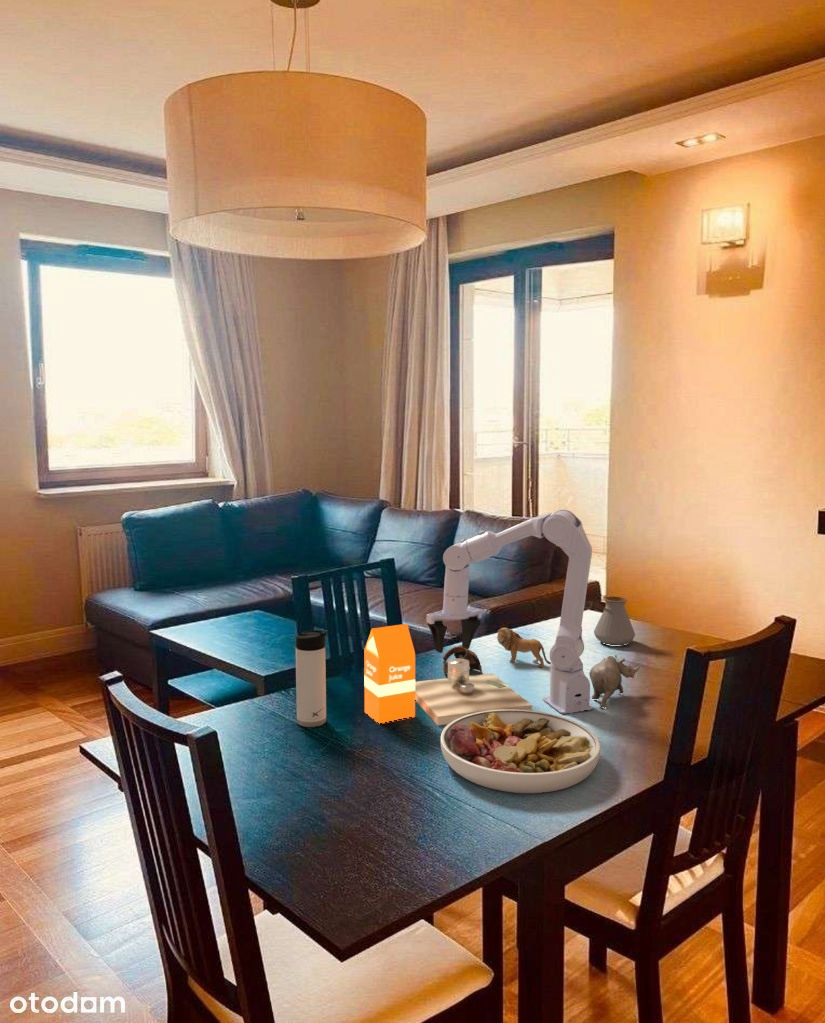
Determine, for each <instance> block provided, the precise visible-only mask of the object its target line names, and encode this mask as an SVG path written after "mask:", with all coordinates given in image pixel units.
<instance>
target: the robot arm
mask: <svg viewBox="0 0 825 1023" xmlns="http://www.w3.org/2000/svg"><path fill="white" fill-rule="evenodd" d="M552 513H553V512H549V513H548V512H547V513H544V514H541V515H538V516H535V517H531V518H530V519H527V520H525V521H523V522H520V523H518V524H515V525H514V526H511V527H509V528H507V529H504V530H502V531H500V532H497V533H496V532H494V531H492V530H487V531H485V529H484V530H480V531H478V532H477V534H478V535H475V536H473V537H470V538H468V539H466V538H462V539H461V540H459V541H460V542H457V543H455V544H453V545H451V546H449V547H448V548H446V550H445V551H444V553H443V556H442V561H443V564H444V566H445V573H444V582H443V585H444V586H443V602H442V603H443V604H442V610H439V611H438V610H437V611H435V612H431V613H428V614H427V613H426V620H425V621H426V623H427V626H428V629H429V631H430V632H431V636H432V639H433V643H434V649H435V652H437V653H439V654H442V653H443V651H444V644H445V637H446V632H447V630H448V627H447V626H445V625H444V622H452V621H453V622H454V621H460V622H461V630H462V633H461V634H462V635H461V645H462V647H464V648H466V649H468V650H470V648H471V643H472V642H473V641H472V640H473V638H474V636H475V633H476V632H477V631H478V629H479V627H480V626H481V620H480V619H482V617H483V615H482V614H483V610H482V609H479V608H477V607H476V608H468V603H469V602H468V601H469V600H468V599H469V586H470V585H469V583H470V565H471V564H476V563H479V562H481V561H483V560H485V559H486V560H487V559H489V558H491V557H493V556H496V555H498V554H500V552H501V549H502V546H506V545H508V544H511V543H514V542H515V543H516V542H517V541H520V540H523V539H525V538H528V537H532V536H533V537H536V538H538V539H542V538H544V537H545V539H547V540H548V541H549V542H550V543H552V544H554V545H555V546H557V547H559V548H560V549H561V550H562V551H563V552H564V553H565V554H566V556H567V557H568V562H567V570H566V576H565V577H566V578H565V585H564V591H563V592H564V593H563V598H562V607H561V613H560V620H559V621H560V622H559V627H558V630H557V633H556V638H555V642H554V644H553V645H552V647H551V648H550V650H549V659H550V662H551V664H550V674H549V675H550V678H549V680H550V682H549V696H544V697H542V700H543V701H544V702H546V704H548V705H549V706H550V707H552V708H553V709H554V710H556V711H557V712H559V713H560V714H570V713H580V712H585V711H584V710H588V711H591V710H590V709H593V710H594V708H593V706H591V705H590V701H591V700H590V699H591V698H590V696H591V682H590V680H589V678H588V677H587V676H586V675H585V672H584V664H583V662H582V659H581V658H580V657H581V656H582V655H583V653H584V651H585V644H584V640H583V627H582V625H583V624H582V623H583V617H584V611H585V610H584V609H585V606H586V603H585V602H586V597H587V590H588V582H589V574H590V569H591V562H592V556H593V548H592V545H591V543H590V540H589V539H588V536H587V534H586V532H585V529H584V527H583V523H582V520H580V519H579V517H578V516H576V514H574V513H573V512H572V511H570V510H569V509H559V510H557V511H555V512H554V513H553V514H552ZM584 605H585V606H584ZM579 711H580V712H579Z"/></svg>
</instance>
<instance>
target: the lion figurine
mask: <svg viewBox="0 0 825 1023" xmlns="http://www.w3.org/2000/svg"><path fill="white" fill-rule="evenodd" d="M496 636H497V637H496V639H497V642H498V643H499V644H500V645H501V646H502V647H503V648H504V649H505V650H506V651H507V652H508V651H509V652H510V654H511V655H510V656H511V657H510V660H509V664H510V663H511V664H514V663H515V662H516V659H517V654H518V652H520V653H524V654H525V653H529V652H531V654H532V655H533V656H534V657H535V659H533V660H532V663H535V664H537V663H538V662H539V664H538V666H537V667H539V668H543V667H544V665H545V663H544V661H545V662H546V664H548V665H551V661H549V660H548V659H547V657H546V651H545V648H544V646H543V644H542V643H541V642H540V640H537V639H529V638H523V637H521V635H520V634H519V633H517V632H516V631H514V630H513V629H511V628H509V627H508V628H507V627H501V628H500V629H498V630H497V635H496ZM540 652H541V653H542V656H541V653H540Z"/></svg>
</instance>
